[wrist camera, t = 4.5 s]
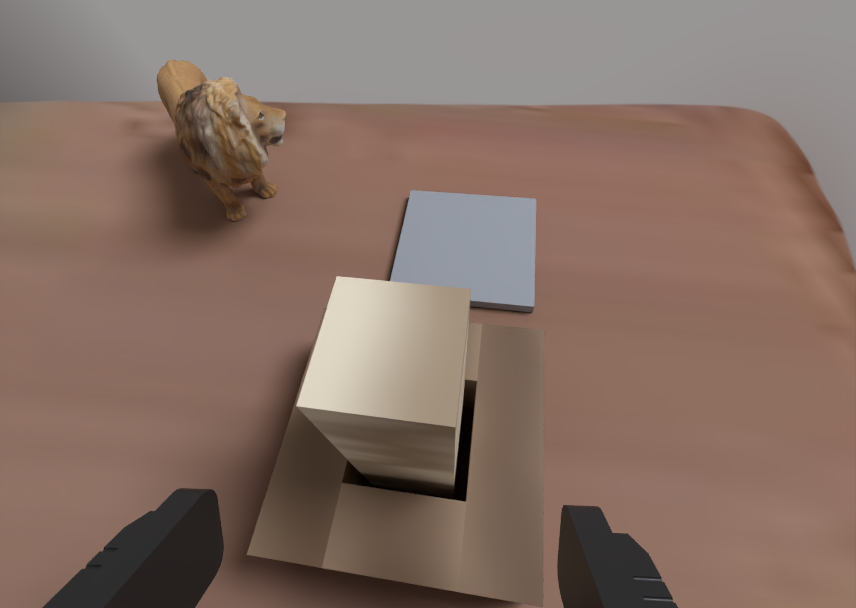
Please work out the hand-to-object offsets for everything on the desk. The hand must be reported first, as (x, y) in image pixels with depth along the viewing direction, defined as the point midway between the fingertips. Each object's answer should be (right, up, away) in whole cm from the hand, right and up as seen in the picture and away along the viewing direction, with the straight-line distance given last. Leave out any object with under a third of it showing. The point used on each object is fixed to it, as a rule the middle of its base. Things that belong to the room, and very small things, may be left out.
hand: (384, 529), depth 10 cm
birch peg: (+1, -2, +10) cm, 10 cm away
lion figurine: (-12, +14, +20) cm, 27 cm away
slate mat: (+3, +8, +16) cm, 18 cm away
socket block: (+1, -2, +10) cm, 10 cm away
